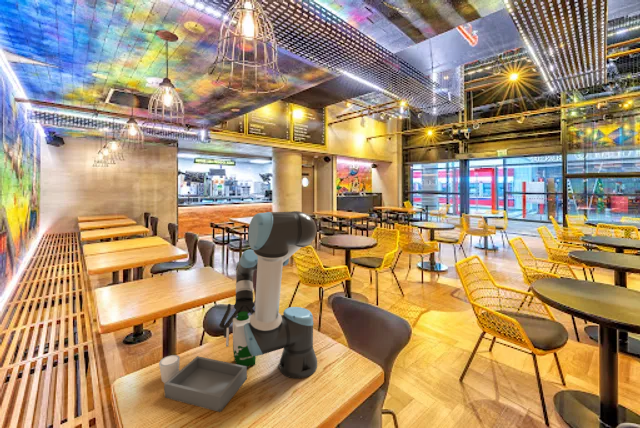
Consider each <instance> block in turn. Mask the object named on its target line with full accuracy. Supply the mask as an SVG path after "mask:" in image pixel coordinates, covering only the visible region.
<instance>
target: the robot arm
mask: <svg viewBox="0 0 640 428" xmlns="http://www.w3.org/2000/svg"><path fill="white" fill-rule="evenodd" d="M248 226H249V227H248V232H247V234H248V235H247V236H248V245H249V247H250V249H247V250H244V251H243V252H242V254H241V256H240V258H239V260H238V261H237V262H236V268H235V274H236V277H235V303H234V304H231V303H228V304H227V309H226V311H225V313H224V314H223V317H222V319H221V320H220V323H219V325H218V326H219V329H220V330H221V329H223V338H225V346H226V348H227V347H229V345H230V343H229V340H230V337H229V336H230V328H229V327H230V326H231V325H232V324H233V318H237V317H238V313H239V312H243V311H245V312H248V314H250V315H251V317H250V323H246V324H245V325H244V333H245V338H246V342H247V346H248V349H249V352H250V354H251V355H252V356H256V357H257V356H264V355H265V354H268V353H272V352H275V351H278V350H282V353H281V356H280V358H279V371H280V372H281V374H282V375H284V376H285V377H287V378H290V379H305V378H308V377H309V376H311V375H312V374H314V373H315V372H316V371H317V369H318V368H317V367H318V357H317V355H316V352H315V349H314V316H313V314H312V312H311V311H310V310H309V309H308V308H305V307H301V306H290V307H287V308H285V309H284V310H283V312H282V314H281V313H280V312H279V311H280V301H281V289H282V279H283V277H282V276H283V267H284V266H285V267H286V266H287V265H289V262H290V258H291V257H292V256H293V255H294V254H295V253H296V252H298V251H299V250H300V249H301V248H305V247H308V246H309V245H310V244H312V242H313V241H314V240H315V238H316V236H317V232H318V231H317V224H316V222H315V221H314V219H313V218H312V217H311V216H310V215H309V214H308V213H305V212H302V211H299V210H293V211H266V212H259V213H256V214H254V215H253V217H251V220H250V221H249V225H248ZM255 271H256V281H255V282H256V283H255V284H256V285H255V299H254V292H253V291H254V282H253V280H254V273H255ZM254 300H255V301H254ZM233 309H235V311H234V312H233V313H232V314H231V316H230V313H231V311H232V310H233ZM229 316H230V317H229ZM228 318H229V319H228ZM227 319H228V320H227Z"/></svg>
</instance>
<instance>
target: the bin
mask: <svg viewBox="0 0 640 428" xmlns="http://www.w3.org/2000/svg"><path fill="white" fill-rule="evenodd" d="M247 379H248V367H247V366H243V365H238V364H236V363H232V362H227V361H222V360H218V359H213V358H208V357H203V356H196V357H194V358H193V359H192V360H191V361H189V362H188V363H187V364H186V365H184V367H182V368H181V369H179V372H178V373H176V374H175V375H174V376H173V377H172V378H170V379H169V380H168V381H167V382H166V383H164V382H163V386H164V398H166V399H169V400H172V401H177V402H181V403H185V404H187V405H193V406H196V407H200V408H203V409H207V410H211V411H215V412H219V413H221V412H222V411H223V410H224V408H225V407H226V406H227V405H228V403H229V402H230V401H231V399H232V398H234V396H235V395H236V393H237V392H238V391H239V390H240V389H241V387H242V386H243V384H244V383H245V382H246V381H247Z"/></svg>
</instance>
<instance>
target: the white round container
mask: <svg viewBox="0 0 640 428" xmlns="http://www.w3.org/2000/svg"><path fill="white" fill-rule="evenodd" d="M180 361H181V357H180V356H179V355H177V354H172V355H167V356H165V357H163V358H161V360H160V361H159V362H158V365H159V372H160V378H161V382H163V384H164V383H166V382H167V381H168V380H169V379H170V378H172V377H173V376H174V375H175V374H176V373H178V372H179V371H180Z"/></svg>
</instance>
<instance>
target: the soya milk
mask: <svg viewBox="0 0 640 428" xmlns="http://www.w3.org/2000/svg"><path fill="white" fill-rule="evenodd" d="M250 317H251V314H249V313H248V312H245V311H243V312H239V313H238V316H237V317H236V318H233V322H232V349H233V351H232V352H233V358H234V362H235V364H238V365H243V366H247V368H249V367H252V366H254V365H255V366H256V358H257V356H252V355H251V354H250V352H249V349H248V346H247V342H246V338H245V333H244V325H245V324H246V323H250Z"/></svg>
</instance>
